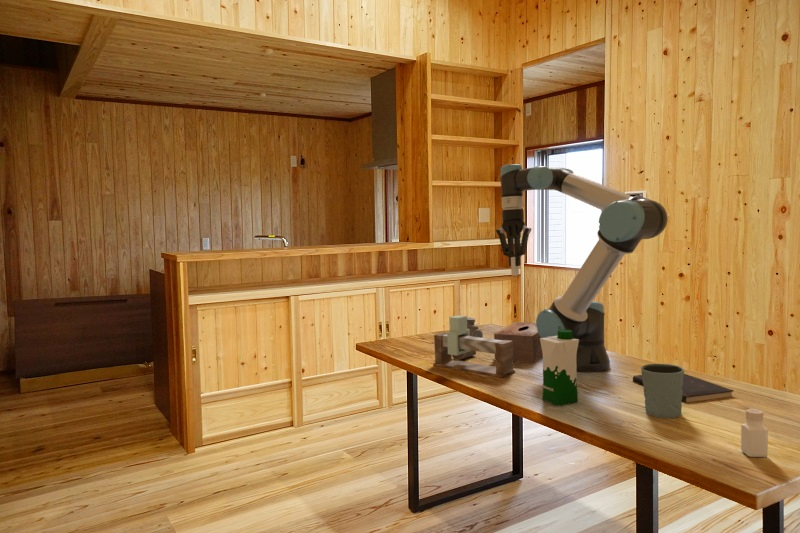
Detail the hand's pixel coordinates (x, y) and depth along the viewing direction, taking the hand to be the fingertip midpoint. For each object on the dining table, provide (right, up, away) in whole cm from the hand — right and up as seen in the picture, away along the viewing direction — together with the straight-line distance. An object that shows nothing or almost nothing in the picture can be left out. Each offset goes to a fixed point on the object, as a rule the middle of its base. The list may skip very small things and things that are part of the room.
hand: (515, 275), depth 209 cm
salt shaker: (+35, -37, -83) cm, 97 cm away
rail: (-15, -33, -3) cm, 36 cm away
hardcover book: (+42, -34, -34) cm, 64 cm away
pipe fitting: (-11, -29, +44) cm, 54 cm away
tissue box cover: (+7, -31, +17) cm, 36 cm away
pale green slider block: (-20, -28, 0) cm, 34 cm away
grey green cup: (+28, -36, -55) cm, 71 cm away
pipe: (-18, -32, +18) cm, 41 cm away
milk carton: (+4, -35, -42) cm, 55 cm away
